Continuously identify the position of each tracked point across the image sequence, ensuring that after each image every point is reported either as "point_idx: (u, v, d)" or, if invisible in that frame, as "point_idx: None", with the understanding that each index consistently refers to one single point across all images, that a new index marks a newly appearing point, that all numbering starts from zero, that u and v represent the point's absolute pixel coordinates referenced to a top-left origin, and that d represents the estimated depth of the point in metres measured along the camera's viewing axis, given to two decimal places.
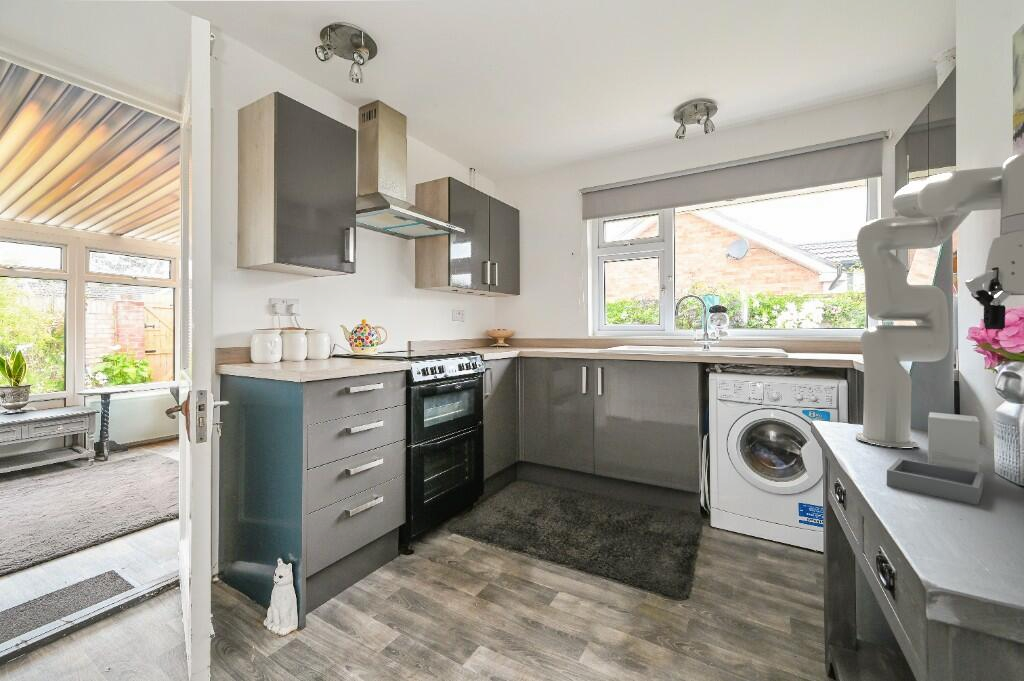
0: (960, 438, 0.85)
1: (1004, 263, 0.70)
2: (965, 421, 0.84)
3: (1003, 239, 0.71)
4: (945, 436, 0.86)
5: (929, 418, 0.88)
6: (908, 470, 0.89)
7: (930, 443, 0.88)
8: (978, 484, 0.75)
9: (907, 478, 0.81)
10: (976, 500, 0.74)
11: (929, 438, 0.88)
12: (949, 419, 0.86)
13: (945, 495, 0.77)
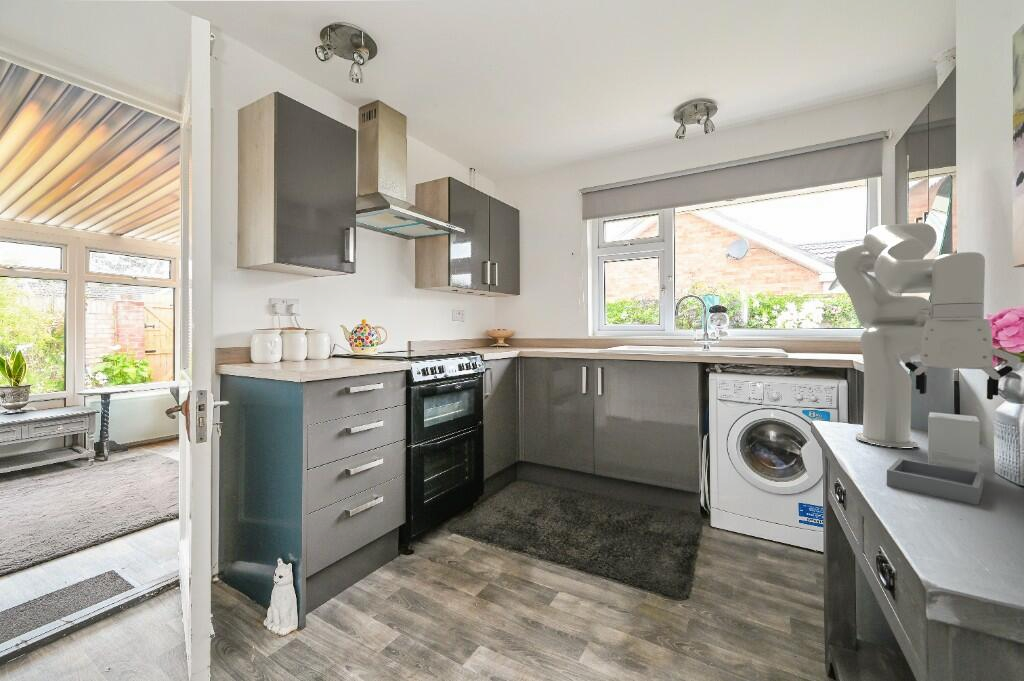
0: (960, 438, 0.85)
1: None
2: (965, 421, 0.84)
3: None
4: (946, 436, 0.86)
5: (929, 418, 0.88)
6: (908, 470, 0.89)
7: (930, 443, 0.88)
8: (978, 484, 0.75)
9: (907, 478, 0.81)
10: (976, 500, 0.74)
11: (929, 438, 0.88)
12: (949, 419, 0.86)
13: (945, 495, 0.77)
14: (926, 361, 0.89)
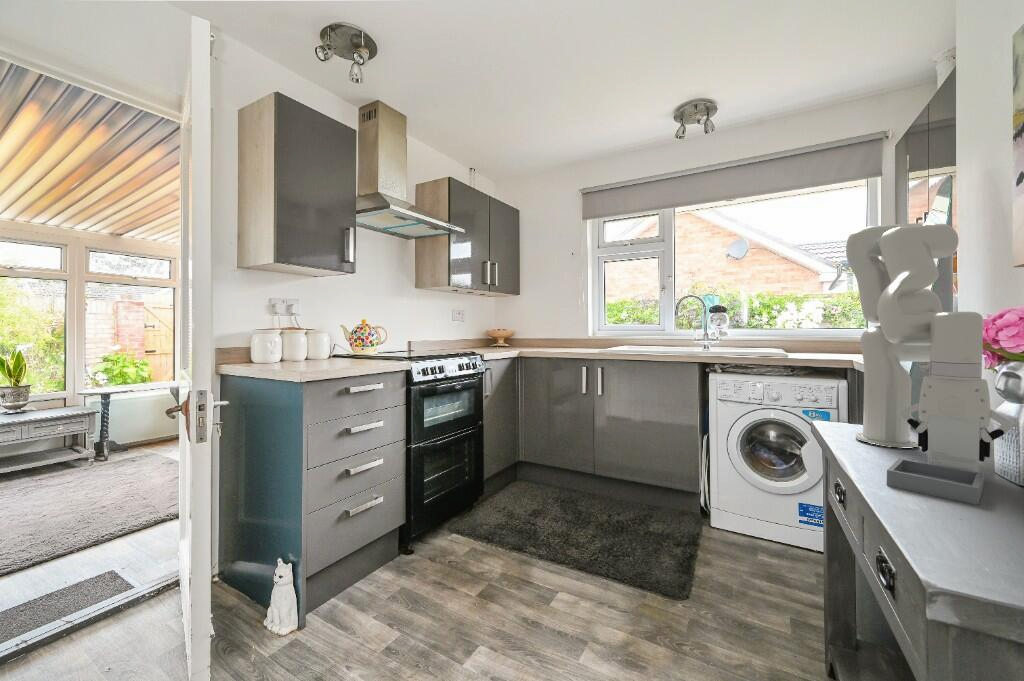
0: (960, 438, 0.85)
1: None
2: (965, 421, 0.84)
3: None
4: (945, 436, 0.86)
5: (929, 418, 0.88)
6: (908, 470, 0.89)
7: (930, 442, 0.88)
8: (978, 484, 0.75)
9: (907, 478, 0.81)
10: (976, 500, 0.74)
11: (929, 438, 0.88)
12: (949, 419, 0.86)
13: (945, 495, 0.77)
14: (924, 417, 0.89)
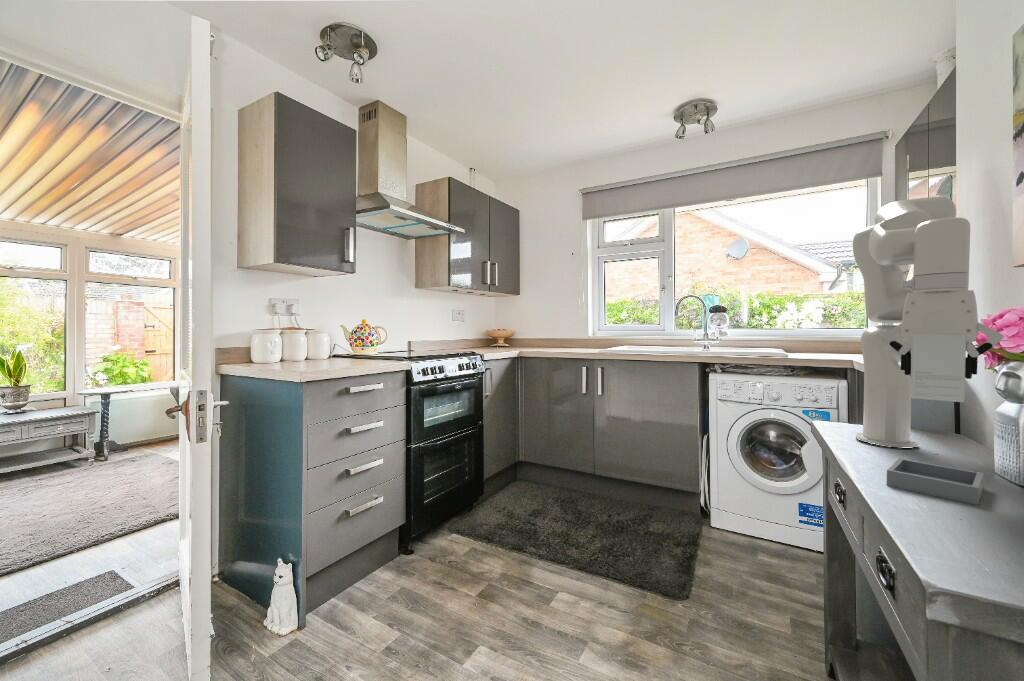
0: (945, 354, 0.78)
1: None
2: (950, 335, 0.78)
3: None
4: (929, 354, 0.80)
5: (912, 336, 0.81)
6: (908, 470, 0.89)
7: (912, 362, 0.81)
8: (978, 484, 0.75)
9: (907, 478, 0.81)
10: (976, 500, 0.74)
11: (912, 357, 0.81)
12: (933, 335, 0.79)
13: (945, 495, 0.77)
14: (907, 337, 0.83)
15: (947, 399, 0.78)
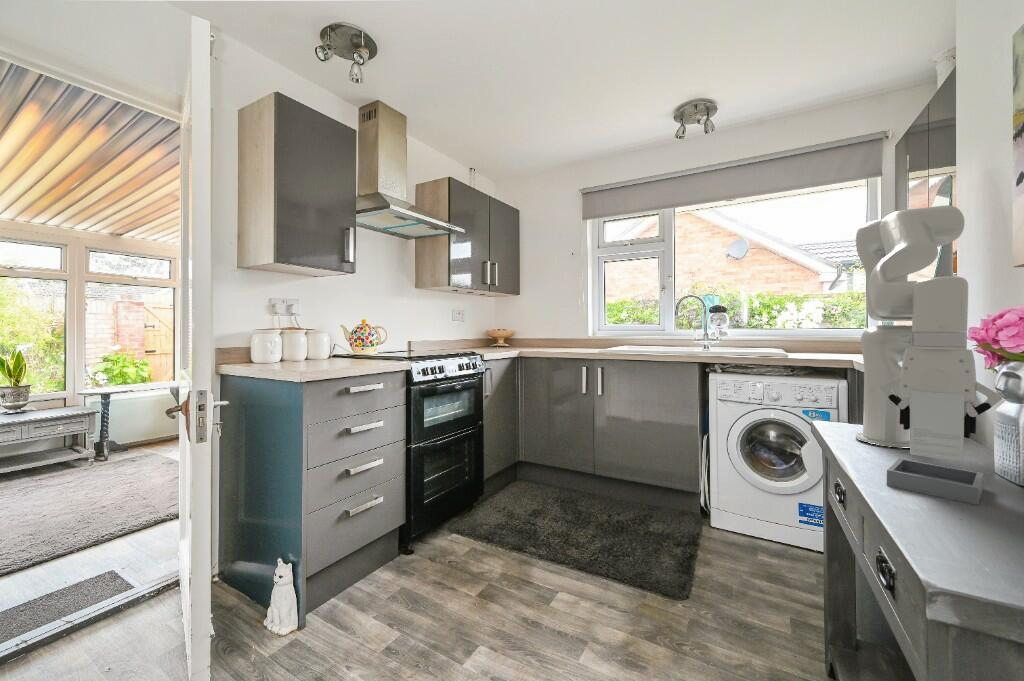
0: (944, 412, 0.78)
1: None
2: (949, 394, 0.78)
3: None
4: (928, 411, 0.80)
5: (911, 392, 0.82)
6: (908, 470, 0.89)
7: (911, 419, 0.81)
8: (978, 484, 0.75)
9: (907, 478, 0.81)
10: (976, 500, 0.74)
11: (911, 414, 0.82)
12: (932, 392, 0.80)
13: (945, 495, 0.77)
14: (906, 392, 0.83)
15: (946, 458, 0.78)
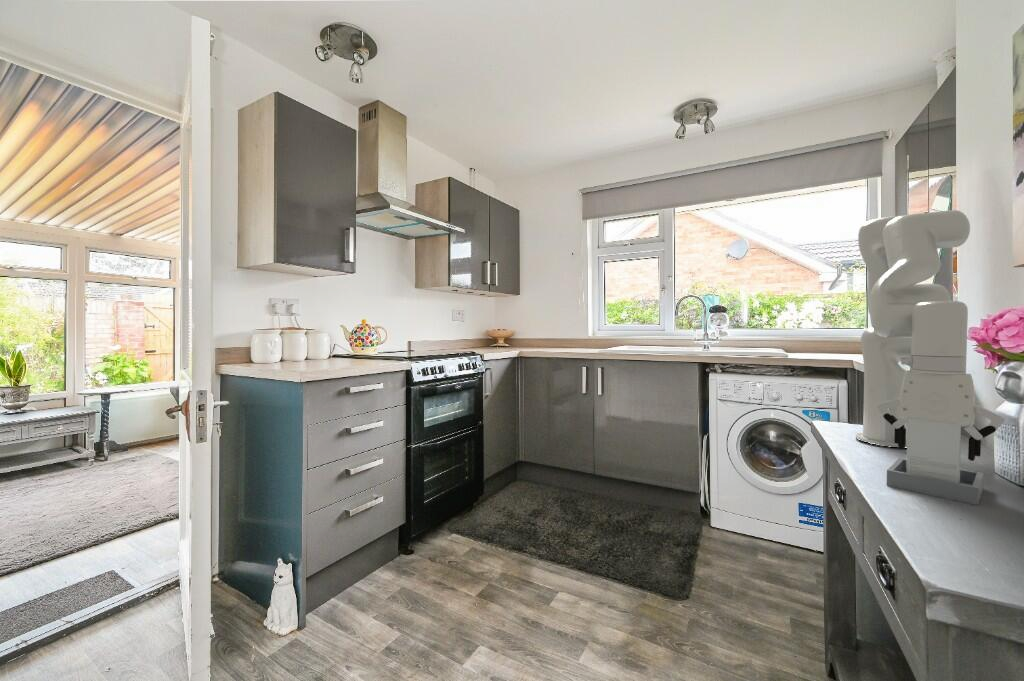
0: (940, 441, 0.79)
1: None
2: (945, 423, 0.79)
3: None
4: (925, 440, 0.80)
5: (907, 420, 0.82)
6: None
7: (908, 446, 0.82)
8: (978, 484, 0.75)
9: (907, 478, 0.81)
10: (976, 500, 0.74)
11: (907, 441, 0.82)
12: (928, 421, 0.80)
13: (945, 495, 0.77)
14: (905, 415, 0.83)
15: None
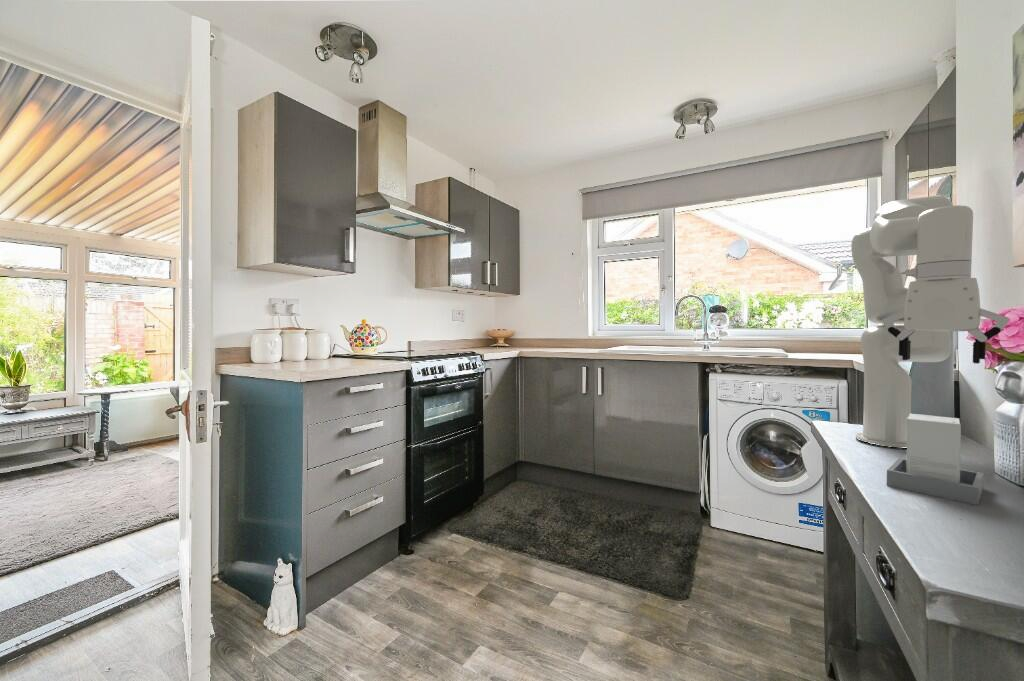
0: (940, 441, 0.79)
1: None
2: (945, 423, 0.79)
3: None
4: (925, 440, 0.80)
5: (907, 420, 0.82)
6: None
7: (908, 446, 0.82)
8: (978, 484, 0.75)
9: (907, 478, 0.81)
10: (976, 500, 0.74)
11: (907, 441, 0.82)
12: (928, 421, 0.80)
13: (945, 495, 0.77)
14: (909, 325, 0.83)
15: None
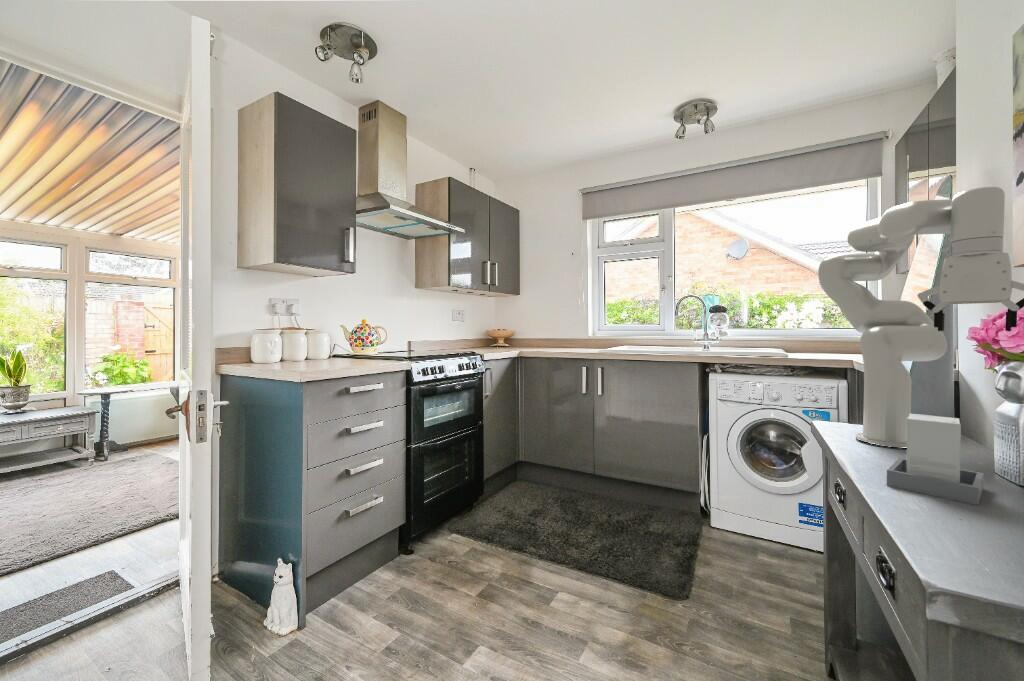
0: (940, 441, 0.79)
1: None
2: (945, 423, 0.79)
3: None
4: (925, 440, 0.80)
5: (907, 420, 0.82)
6: None
7: (908, 446, 0.82)
8: (978, 484, 0.75)
9: (907, 478, 0.81)
10: (976, 500, 0.74)
11: (907, 441, 0.82)
12: (928, 421, 0.80)
13: (945, 495, 0.77)
14: (945, 298, 0.90)
15: None
